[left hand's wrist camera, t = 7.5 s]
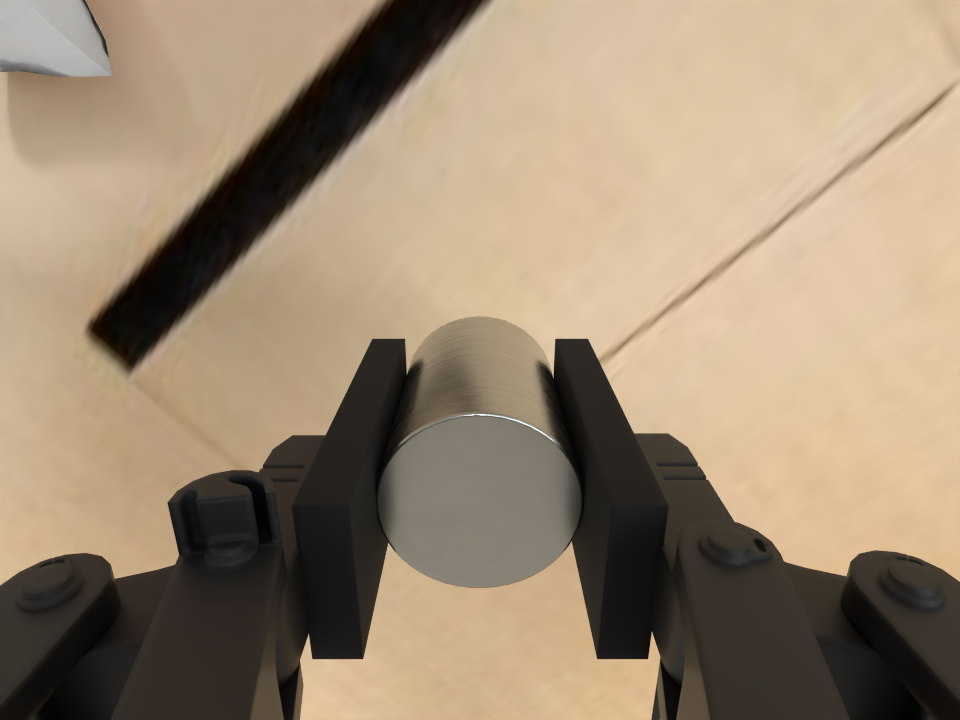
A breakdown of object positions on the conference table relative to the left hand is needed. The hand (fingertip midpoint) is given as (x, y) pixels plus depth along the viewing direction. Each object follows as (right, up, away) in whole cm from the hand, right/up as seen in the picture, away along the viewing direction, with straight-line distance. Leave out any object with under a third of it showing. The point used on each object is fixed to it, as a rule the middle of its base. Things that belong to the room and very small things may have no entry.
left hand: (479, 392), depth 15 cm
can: (0, 0, 0) cm, 0 cm away
